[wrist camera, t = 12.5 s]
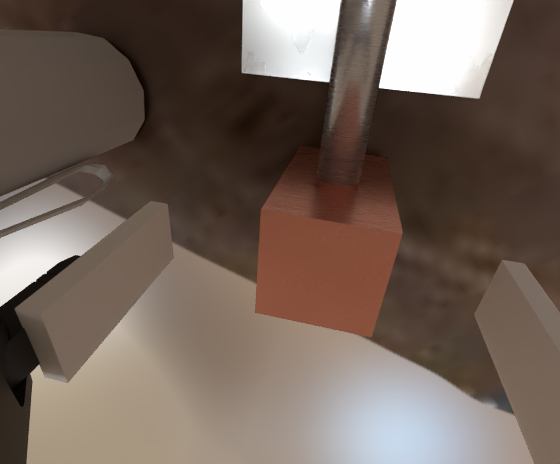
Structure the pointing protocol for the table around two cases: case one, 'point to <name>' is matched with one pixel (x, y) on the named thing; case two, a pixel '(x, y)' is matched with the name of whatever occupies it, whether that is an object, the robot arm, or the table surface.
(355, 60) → the mallet
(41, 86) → the water bottle
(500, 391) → the table surface
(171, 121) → the table surface
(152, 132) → the table surface
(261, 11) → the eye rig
